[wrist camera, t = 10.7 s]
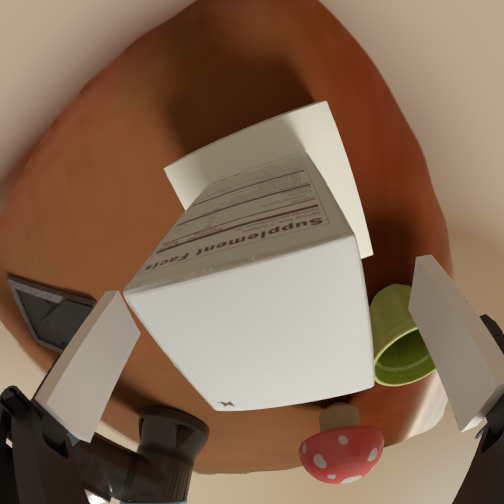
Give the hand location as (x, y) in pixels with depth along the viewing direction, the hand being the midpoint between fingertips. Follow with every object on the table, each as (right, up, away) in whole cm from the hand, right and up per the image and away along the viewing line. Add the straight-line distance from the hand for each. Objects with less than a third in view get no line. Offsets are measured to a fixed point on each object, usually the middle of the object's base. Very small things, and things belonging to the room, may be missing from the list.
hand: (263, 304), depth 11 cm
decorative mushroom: (+14, -23, +30) cm, 40 cm away
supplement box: (+1, +5, +8) cm, 10 cm away
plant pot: (+16, -4, +18) cm, 25 cm away
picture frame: (-33, -10, +27) cm, 44 cm away
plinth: (+2, +8, +13) cm, 16 cm away
